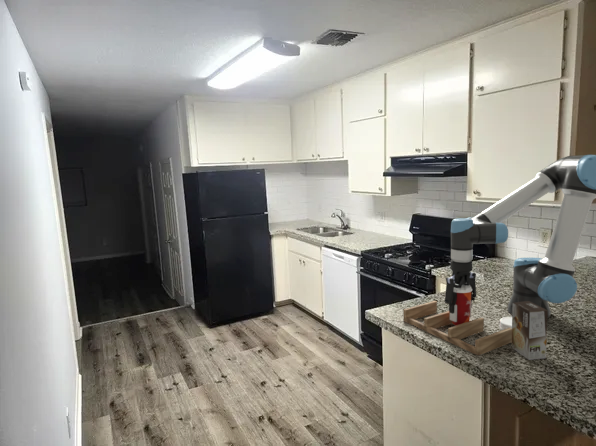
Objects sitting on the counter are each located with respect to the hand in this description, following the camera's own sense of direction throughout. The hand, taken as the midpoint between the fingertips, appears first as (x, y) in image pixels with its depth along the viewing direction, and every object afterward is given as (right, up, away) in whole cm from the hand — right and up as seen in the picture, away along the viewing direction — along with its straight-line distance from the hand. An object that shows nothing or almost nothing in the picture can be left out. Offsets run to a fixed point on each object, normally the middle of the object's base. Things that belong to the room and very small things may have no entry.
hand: (460, 318), depth 148 cm
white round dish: (+19, -4, -3) cm, 20 cm away
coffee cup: (0, -2, 0) cm, 2 cm away
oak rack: (-3, -4, -1) cm, 6 cm away
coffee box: (+14, -7, -20) cm, 25 cm away
